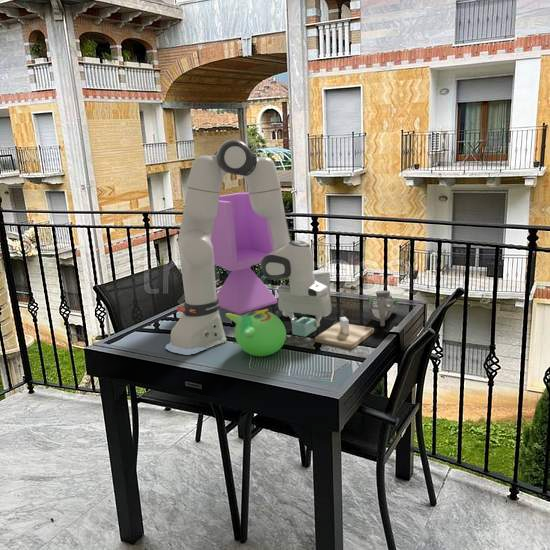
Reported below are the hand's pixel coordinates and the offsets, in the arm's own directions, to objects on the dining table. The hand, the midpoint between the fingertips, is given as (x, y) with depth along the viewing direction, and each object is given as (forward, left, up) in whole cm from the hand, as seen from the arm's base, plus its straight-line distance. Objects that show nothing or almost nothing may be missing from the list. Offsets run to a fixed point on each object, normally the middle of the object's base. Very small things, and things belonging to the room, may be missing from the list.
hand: (305, 324), depth 189 cm
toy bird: (-23, +3, -3) cm, 23 cm away
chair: (+15, +40, -3) cm, 43 cm away
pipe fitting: (+25, -19, -3) cm, 32 cm away
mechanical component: (+16, -22, -3) cm, 27 cm away
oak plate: (+1, -15, -3) cm, 15 cm away
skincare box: (+24, +9, -3) cm, 26 cm away
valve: (+11, +12, -3) cm, 16 cm away
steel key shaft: (+1, -15, -1) cm, 15 cm away
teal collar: (-1, 0, -3) cm, 3 cm away
